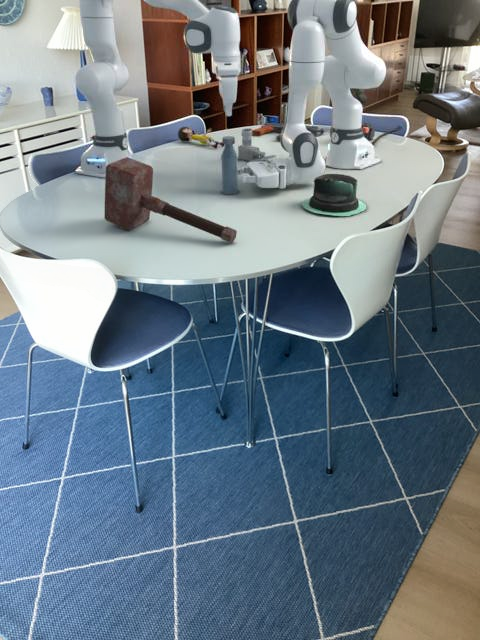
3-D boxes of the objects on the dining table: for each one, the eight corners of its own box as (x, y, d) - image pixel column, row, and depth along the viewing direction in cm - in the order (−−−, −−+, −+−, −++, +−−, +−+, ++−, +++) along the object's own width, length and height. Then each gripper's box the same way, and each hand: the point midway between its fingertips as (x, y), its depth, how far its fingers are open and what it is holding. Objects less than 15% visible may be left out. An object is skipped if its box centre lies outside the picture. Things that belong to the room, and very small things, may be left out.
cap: (225, 145, 180) (225, 139, 179) (220, 143, 183) (220, 137, 182) (236, 143, 181) (236, 137, 180) (231, 141, 184) (231, 135, 183)
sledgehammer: (247, 201, 148) (125, 155, 160) (230, 213, 141) (104, 163, 152) (236, 257, 158) (122, 210, 170) (220, 270, 151) (102, 220, 162)
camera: (247, 126, 226) (276, 132, 217) (247, 155, 232) (275, 162, 223) (233, 130, 220) (262, 135, 212) (233, 160, 226) (261, 166, 218)
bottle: (226, 195, 187) (224, 141, 178) (220, 191, 191) (217, 138, 182) (240, 193, 189) (239, 139, 180) (233, 188, 193) (232, 136, 184)
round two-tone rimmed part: (371, 195, 181) (367, 217, 164) (320, 217, 189) (311, 241, 173) (352, 153, 175) (346, 172, 159) (300, 178, 184) (289, 199, 168)
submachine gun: (243, 132, 260) (267, 122, 278) (243, 138, 261) (267, 127, 280) (305, 138, 246) (326, 127, 265) (305, 144, 248) (326, 133, 266)
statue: (367, 132, 266) (374, 63, 251) (349, 133, 264) (355, 64, 249) (357, 127, 275) (362, 61, 260) (339, 129, 273) (344, 62, 258)
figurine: (211, 139, 238) (170, 125, 250) (210, 157, 242) (170, 142, 255) (230, 134, 247) (190, 120, 259) (229, 150, 251) (189, 136, 263)
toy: (345, 120, 249) (377, 123, 242) (343, 139, 253) (375, 143, 246) (337, 123, 243) (369, 127, 236) (336, 143, 247) (367, 147, 240)
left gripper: (213, 63, 179) (215, 108, 186) (218, 70, 162) (220, 120, 169) (233, 62, 180) (234, 107, 187) (240, 69, 162) (240, 119, 169)
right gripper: (271, 155, 197) (232, 158, 195) (286, 170, 180) (244, 174, 178) (270, 173, 201) (233, 176, 198) (286, 189, 183) (245, 193, 181)
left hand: (227, 113), depth 177 cm, fingers open, 6 cm apart
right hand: (238, 175), depth 188 cm, fingers open, 8 cm apart
